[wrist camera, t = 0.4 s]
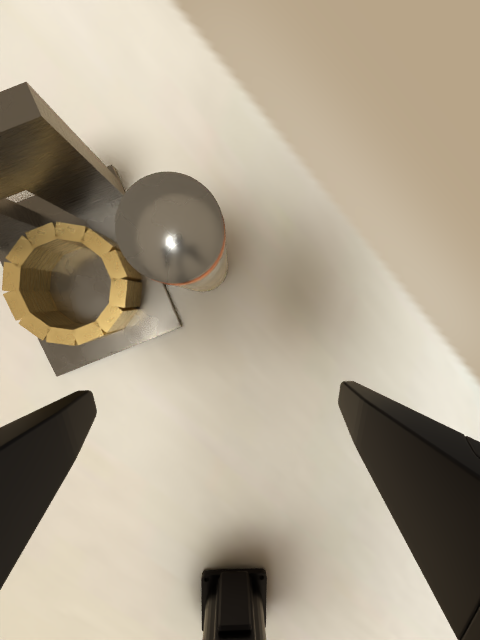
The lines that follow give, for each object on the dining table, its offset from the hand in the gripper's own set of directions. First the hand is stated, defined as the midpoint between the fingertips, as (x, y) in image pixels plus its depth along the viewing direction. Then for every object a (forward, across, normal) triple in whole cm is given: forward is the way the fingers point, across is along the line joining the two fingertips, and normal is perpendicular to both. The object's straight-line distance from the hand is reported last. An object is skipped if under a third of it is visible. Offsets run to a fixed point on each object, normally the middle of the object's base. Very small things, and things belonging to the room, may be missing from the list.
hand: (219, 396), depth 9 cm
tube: (+15, +2, -3) cm, 15 cm away
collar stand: (+15, +12, -3) cm, 19 cm away
